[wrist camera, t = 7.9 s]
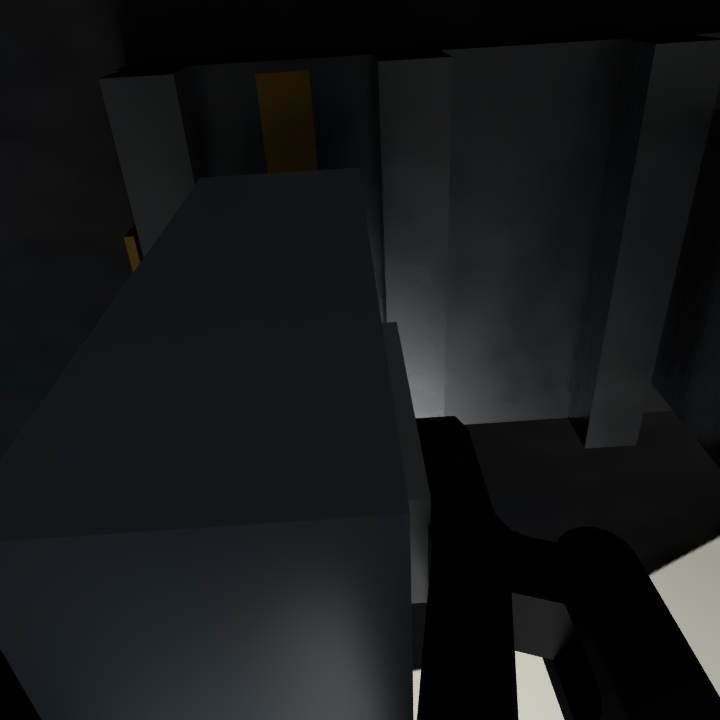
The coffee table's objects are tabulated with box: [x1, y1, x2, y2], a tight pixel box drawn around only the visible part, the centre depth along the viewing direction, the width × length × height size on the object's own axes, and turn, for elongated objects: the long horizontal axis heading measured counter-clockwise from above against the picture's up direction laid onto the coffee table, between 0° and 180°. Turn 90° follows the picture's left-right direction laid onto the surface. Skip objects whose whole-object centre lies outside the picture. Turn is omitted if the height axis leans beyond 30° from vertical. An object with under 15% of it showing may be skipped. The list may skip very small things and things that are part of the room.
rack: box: [99, 28, 720, 468], centre depth 17 cm, size 14×25×14 cm, turn 93°
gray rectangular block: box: [0, 168, 413, 720], centre depth 13 cm, size 10×4×12 cm, turn 3°
